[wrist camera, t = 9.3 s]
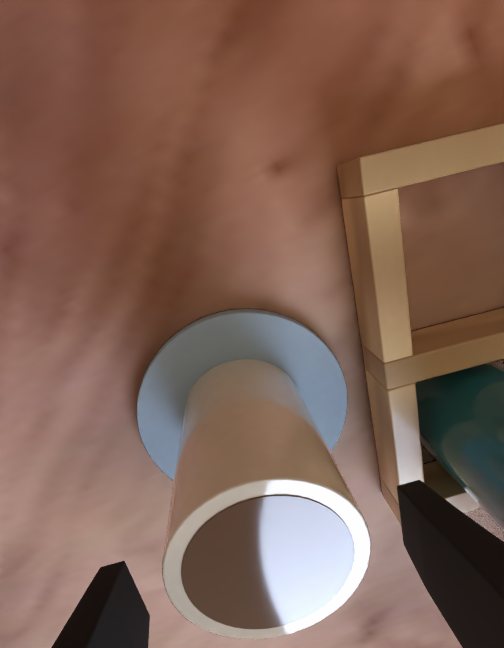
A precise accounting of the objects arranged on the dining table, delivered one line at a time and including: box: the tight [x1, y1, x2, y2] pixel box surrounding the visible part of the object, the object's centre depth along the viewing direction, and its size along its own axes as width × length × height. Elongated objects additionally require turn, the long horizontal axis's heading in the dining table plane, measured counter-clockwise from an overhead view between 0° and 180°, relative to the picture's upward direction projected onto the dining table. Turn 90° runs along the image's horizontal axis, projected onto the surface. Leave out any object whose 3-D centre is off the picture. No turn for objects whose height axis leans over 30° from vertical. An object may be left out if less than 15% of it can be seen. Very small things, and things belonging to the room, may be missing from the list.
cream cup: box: [162, 359, 371, 639], centre depth 12 cm, size 5×5×7 cm
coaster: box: [137, 309, 347, 481], centre depth 16 cm, size 9×9×1 cm
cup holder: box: [337, 123, 504, 526], centre depth 15 cm, size 16×9×2 cm, turn 13°
